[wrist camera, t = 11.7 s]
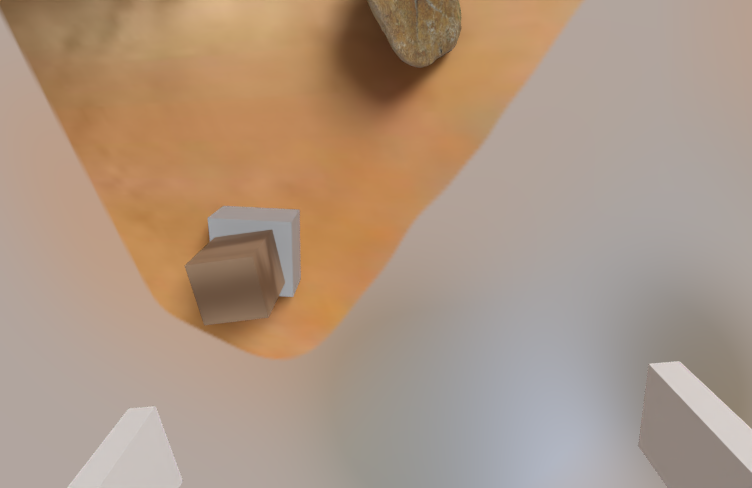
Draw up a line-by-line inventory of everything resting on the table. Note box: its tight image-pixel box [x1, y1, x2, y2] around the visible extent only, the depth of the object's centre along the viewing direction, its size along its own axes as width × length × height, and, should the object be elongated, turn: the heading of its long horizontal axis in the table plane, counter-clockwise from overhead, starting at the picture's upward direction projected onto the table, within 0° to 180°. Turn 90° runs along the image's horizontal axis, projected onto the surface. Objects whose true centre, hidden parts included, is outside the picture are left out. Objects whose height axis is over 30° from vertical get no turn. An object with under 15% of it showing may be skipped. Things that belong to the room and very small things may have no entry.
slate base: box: [208, 206, 301, 297], centre depth 39 cm, size 7×7×4 cm
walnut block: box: [185, 230, 285, 325], centre depth 34 cm, size 5×5×6 cm
